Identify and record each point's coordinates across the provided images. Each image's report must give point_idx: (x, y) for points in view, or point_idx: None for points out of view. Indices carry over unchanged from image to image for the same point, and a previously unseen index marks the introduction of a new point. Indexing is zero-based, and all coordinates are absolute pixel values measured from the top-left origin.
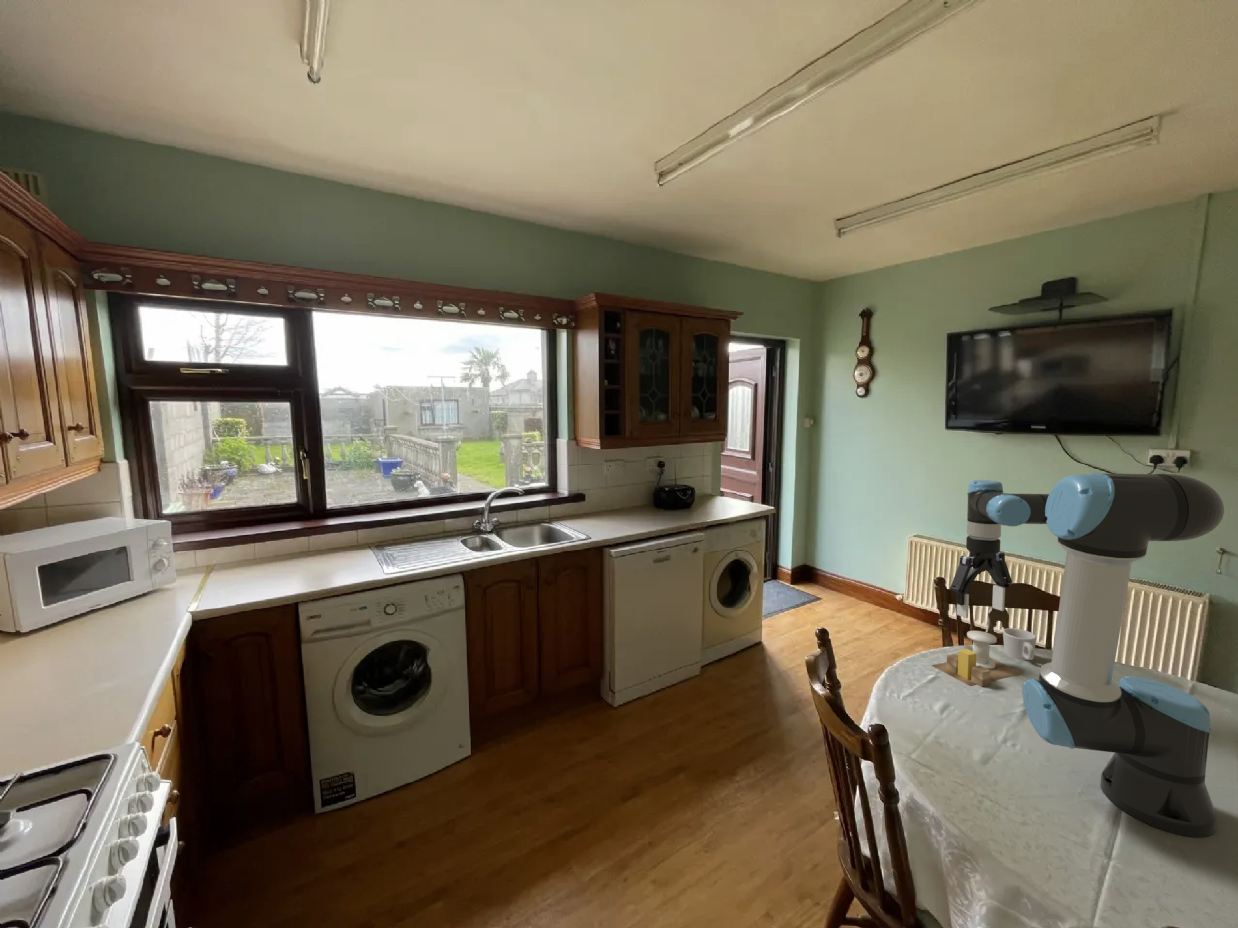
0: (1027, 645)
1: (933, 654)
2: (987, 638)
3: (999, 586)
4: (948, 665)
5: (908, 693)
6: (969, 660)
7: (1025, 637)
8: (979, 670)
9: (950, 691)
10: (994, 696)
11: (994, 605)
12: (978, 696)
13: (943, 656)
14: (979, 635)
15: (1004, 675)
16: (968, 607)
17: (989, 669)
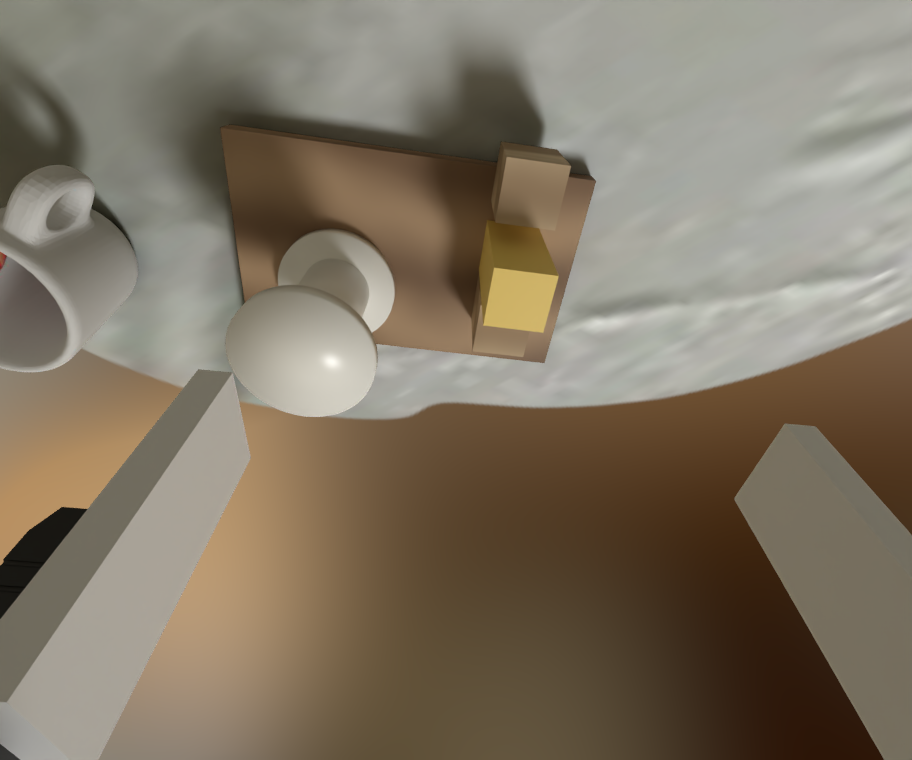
0: (38, 216)
1: (414, 413)
2: (304, 325)
3: (10, 740)
4: None
5: (824, 281)
6: (544, 260)
7: None
8: (556, 189)
9: (673, 211)
10: (556, 78)
11: (232, 465)
12: (621, 119)
13: (394, 390)
14: (310, 366)
15: (340, 163)
16: (866, 522)
17: (354, 233)
